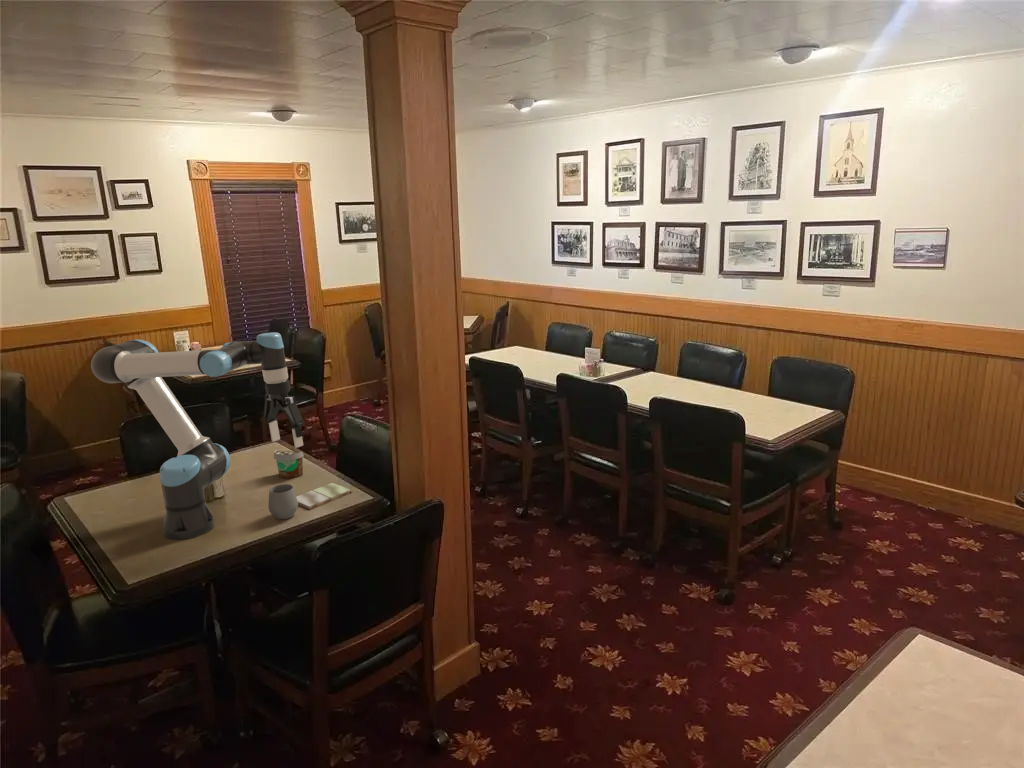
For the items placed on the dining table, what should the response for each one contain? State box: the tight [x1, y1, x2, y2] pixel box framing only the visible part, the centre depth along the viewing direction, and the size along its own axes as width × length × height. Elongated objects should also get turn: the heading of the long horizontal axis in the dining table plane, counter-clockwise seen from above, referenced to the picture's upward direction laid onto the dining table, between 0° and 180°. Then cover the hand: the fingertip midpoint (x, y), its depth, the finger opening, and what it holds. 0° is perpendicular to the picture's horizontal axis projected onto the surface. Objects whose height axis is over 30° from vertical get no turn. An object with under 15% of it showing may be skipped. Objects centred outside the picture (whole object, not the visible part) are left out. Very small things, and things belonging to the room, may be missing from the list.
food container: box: [273, 448, 305, 480], centre depth 256 cm, size 12×6×10 cm, turn 73°
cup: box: [267, 483, 299, 520], centre depth 222 cm, size 10×9×10 cm
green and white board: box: [296, 482, 353, 510], centre depth 238 cm, size 18×12×1 cm, turn 142°
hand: (287, 443), depth 219 cm, fingers open, 13 cm apart
